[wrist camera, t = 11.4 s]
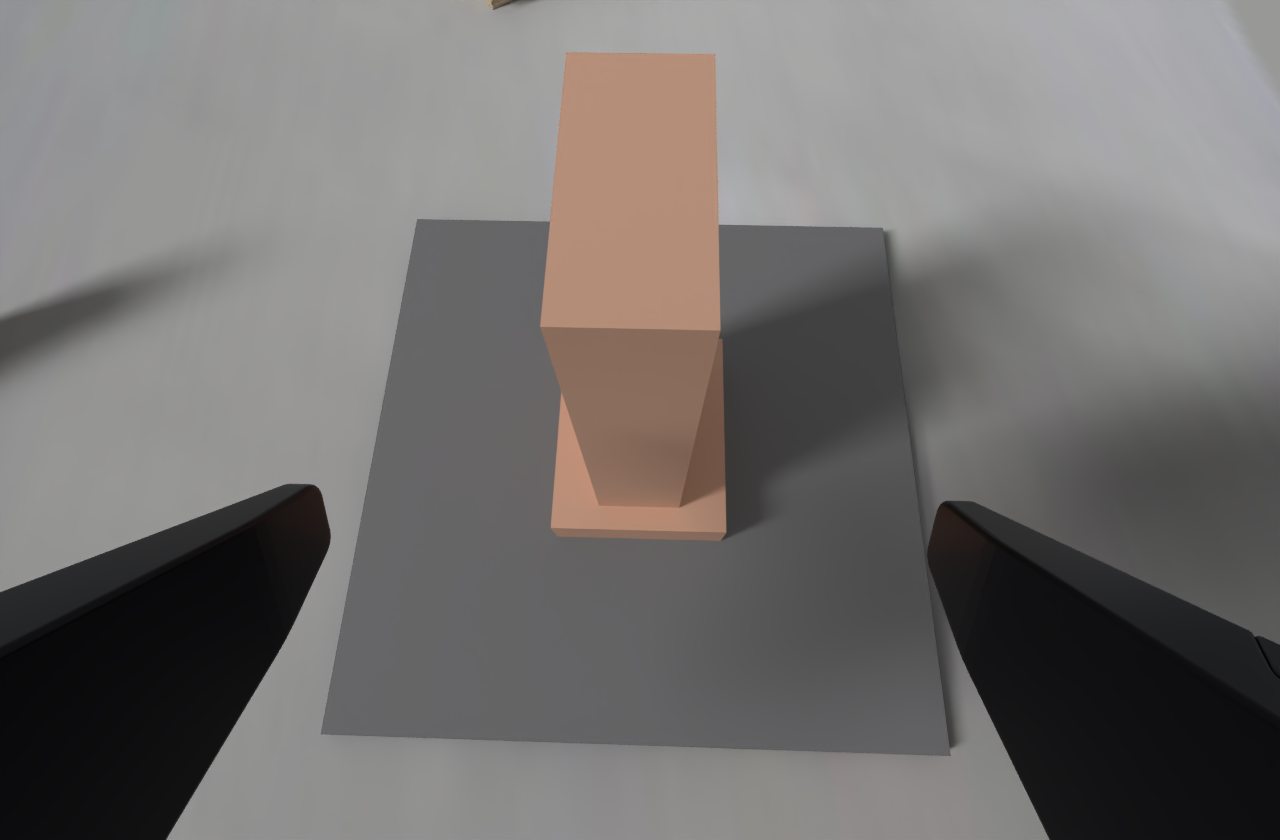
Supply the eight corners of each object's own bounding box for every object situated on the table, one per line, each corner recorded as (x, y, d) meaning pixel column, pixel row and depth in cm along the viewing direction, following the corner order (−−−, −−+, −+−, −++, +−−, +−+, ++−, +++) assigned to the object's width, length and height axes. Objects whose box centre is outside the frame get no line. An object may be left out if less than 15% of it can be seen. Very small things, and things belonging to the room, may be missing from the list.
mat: (942, 753, 18) (950, 755, 17) (329, 731, 18) (320, 734, 18) (878, 236, 24) (882, 227, 24) (421, 227, 25) (417, 219, 24)
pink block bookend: (720, 540, 20) (831, 381, 8) (557, 536, 20) (427, 372, 8) (717, 358, 22) (800, 24, 10) (571, 355, 22) (484, 20, 10)
